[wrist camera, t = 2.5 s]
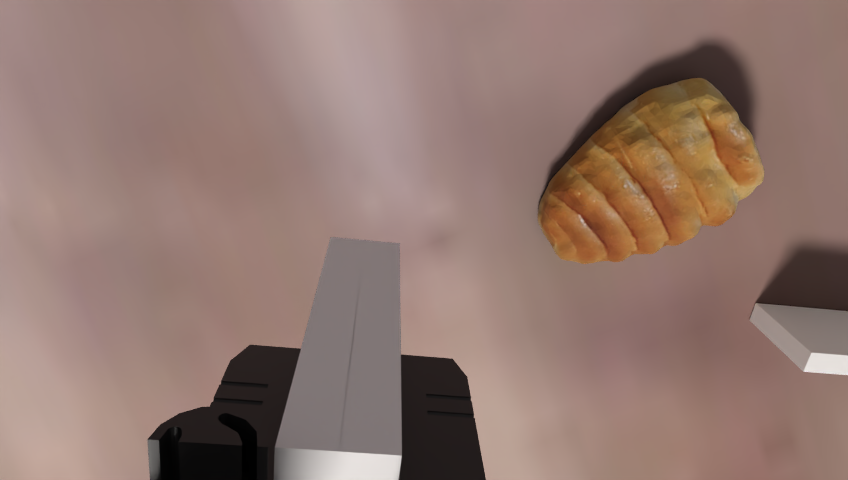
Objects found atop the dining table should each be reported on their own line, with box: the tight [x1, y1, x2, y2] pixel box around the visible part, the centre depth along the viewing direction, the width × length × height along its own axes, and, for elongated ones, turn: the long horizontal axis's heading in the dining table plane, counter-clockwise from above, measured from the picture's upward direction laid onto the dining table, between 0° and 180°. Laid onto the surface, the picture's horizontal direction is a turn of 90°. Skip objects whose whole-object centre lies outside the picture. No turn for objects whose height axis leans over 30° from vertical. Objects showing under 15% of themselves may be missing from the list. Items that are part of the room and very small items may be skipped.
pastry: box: [538, 78, 764, 264], centre depth 27 cm, size 9×7×4 cm
